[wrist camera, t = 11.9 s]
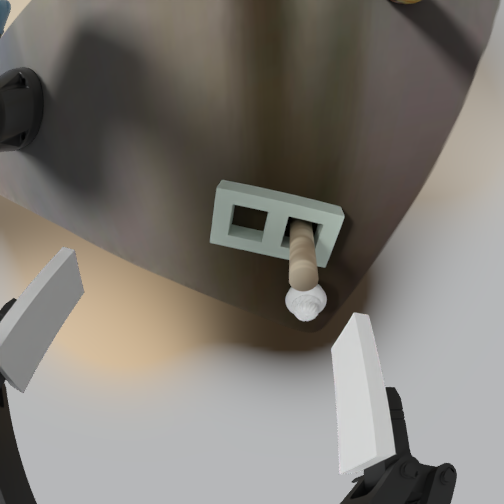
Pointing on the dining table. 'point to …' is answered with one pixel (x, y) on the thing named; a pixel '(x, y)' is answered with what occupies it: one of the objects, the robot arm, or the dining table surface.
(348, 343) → the robot arm
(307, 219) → the hole block
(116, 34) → the dining table surface
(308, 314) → the muffin
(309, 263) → the peg
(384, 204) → the dining table surface
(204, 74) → the dining table surface
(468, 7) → the dining table surface
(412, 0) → the sauce bottle
